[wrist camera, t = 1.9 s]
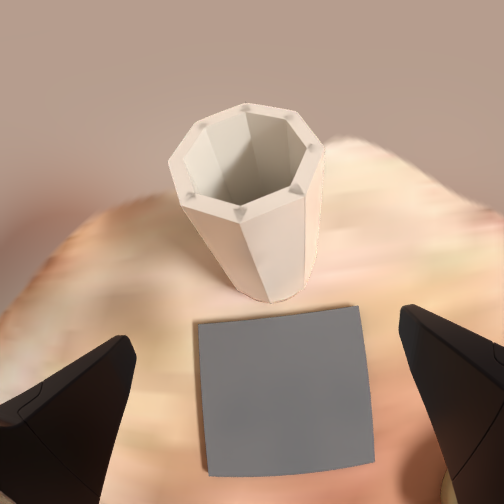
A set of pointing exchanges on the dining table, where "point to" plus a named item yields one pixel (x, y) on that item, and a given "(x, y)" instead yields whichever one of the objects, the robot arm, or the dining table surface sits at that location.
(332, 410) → the coaster
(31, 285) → the dining table surface
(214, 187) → the tumbler
